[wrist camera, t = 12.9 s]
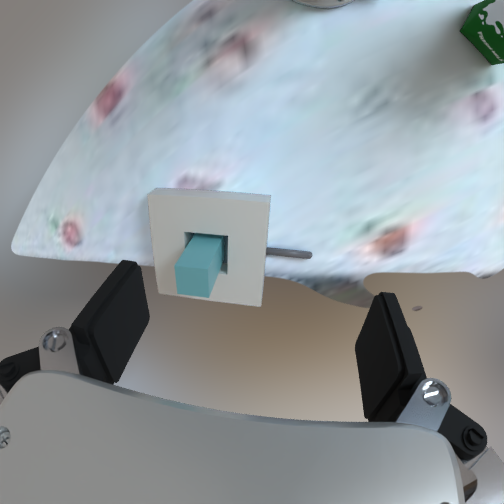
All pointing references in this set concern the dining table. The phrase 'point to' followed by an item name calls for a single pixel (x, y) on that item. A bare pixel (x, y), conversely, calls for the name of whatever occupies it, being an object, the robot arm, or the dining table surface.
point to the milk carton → (487, 29)
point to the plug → (200, 265)
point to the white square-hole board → (218, 223)
